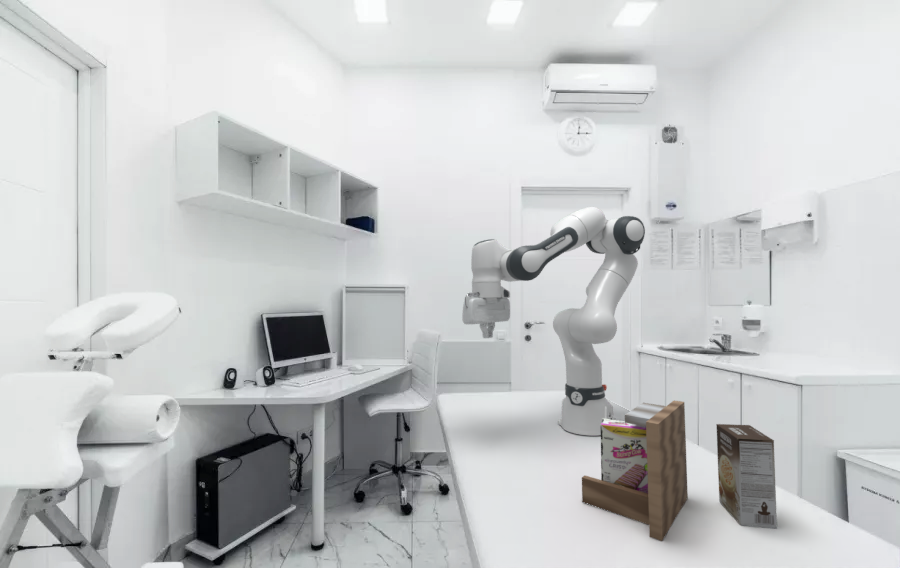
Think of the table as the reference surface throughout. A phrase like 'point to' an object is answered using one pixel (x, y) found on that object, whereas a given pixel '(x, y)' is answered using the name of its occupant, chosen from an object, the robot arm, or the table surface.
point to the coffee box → (747, 475)
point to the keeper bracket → (650, 472)
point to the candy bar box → (624, 454)
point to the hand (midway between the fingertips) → (487, 337)
